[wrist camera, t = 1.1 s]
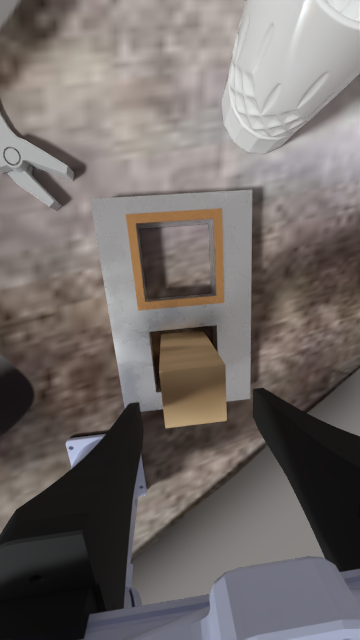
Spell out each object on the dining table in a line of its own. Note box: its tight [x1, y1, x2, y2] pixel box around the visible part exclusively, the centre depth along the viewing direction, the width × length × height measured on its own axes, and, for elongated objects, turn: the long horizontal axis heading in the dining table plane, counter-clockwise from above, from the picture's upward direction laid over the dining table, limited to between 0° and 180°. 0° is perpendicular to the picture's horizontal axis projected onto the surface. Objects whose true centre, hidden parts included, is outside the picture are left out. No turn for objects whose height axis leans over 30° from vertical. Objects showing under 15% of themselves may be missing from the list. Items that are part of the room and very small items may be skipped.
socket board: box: [90, 190, 252, 412], centre depth 19 cm, size 20×13×2 cm, turn 4°
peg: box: [159, 330, 227, 428], centre depth 17 cm, size 4×4×8 cm
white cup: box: [221, 0, 360, 154], centre depth 12 cm, size 8×8×10 cm
